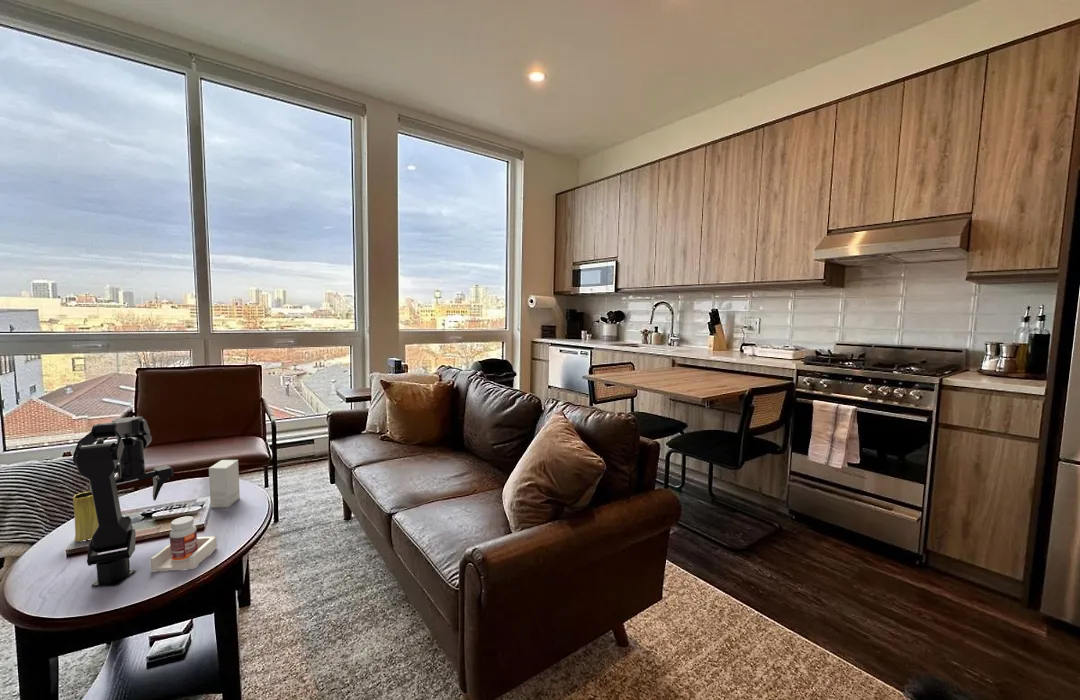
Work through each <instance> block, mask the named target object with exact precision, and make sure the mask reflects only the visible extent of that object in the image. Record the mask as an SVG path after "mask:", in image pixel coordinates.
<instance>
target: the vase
mask: <svg viewBox="0 0 1080 700" xmlns="http://www.w3.org/2000/svg"><path fill="white" fill-rule="evenodd" d="M72 503H73V505H72V506H73V512H74V532H75V533H74V534H75V535H74V541H75V542H76V541H83V540H88V539H91V538H92V537H93V535H94V533H95V531H96V529H97V527H98V526H99V525H98V520H97V515H96V510H95V505H94V500H93V495H92V493H91V491H90V490H89V491H84V492H81V493H77V494H75V495H74V496H73V497H72Z"/></svg>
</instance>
